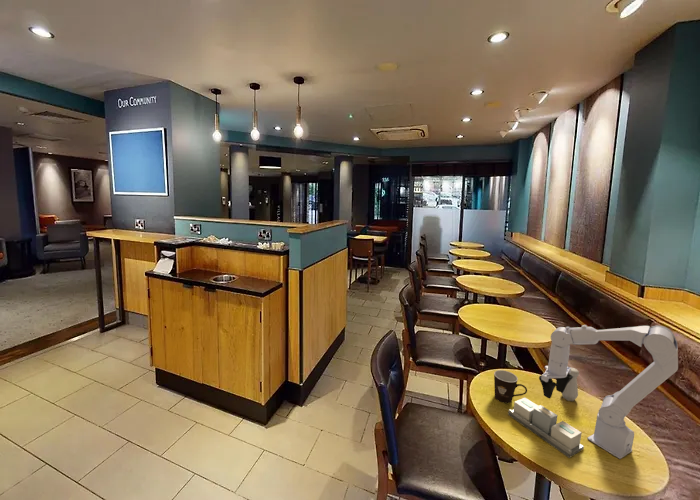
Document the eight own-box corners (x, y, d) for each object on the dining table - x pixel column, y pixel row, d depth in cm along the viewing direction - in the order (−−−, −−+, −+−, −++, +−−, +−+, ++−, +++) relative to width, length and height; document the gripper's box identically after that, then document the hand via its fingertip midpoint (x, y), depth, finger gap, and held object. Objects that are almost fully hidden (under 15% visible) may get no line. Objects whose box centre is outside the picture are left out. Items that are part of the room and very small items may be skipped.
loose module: (555, 430, 111) (557, 414, 109) (548, 434, 109) (550, 418, 108) (538, 419, 116) (540, 404, 115) (531, 422, 114) (533, 407, 113)
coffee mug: (487, 394, 132) (489, 372, 130) (502, 389, 135) (504, 368, 133) (510, 412, 121) (513, 388, 120) (526, 406, 125) (529, 383, 123)
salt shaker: (571, 394, 133) (576, 365, 131) (580, 403, 127) (585, 373, 125) (557, 393, 134) (561, 364, 131) (564, 401, 128) (569, 372, 126)
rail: (583, 449, 104) (584, 443, 104) (569, 457, 100) (570, 451, 100) (521, 408, 123) (522, 403, 123) (507, 414, 120) (508, 409, 119)
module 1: (538, 417, 117) (540, 406, 116) (528, 422, 114) (529, 411, 113) (523, 407, 122) (524, 397, 121) (513, 412, 119) (514, 401, 119)
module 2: (579, 444, 104) (581, 432, 104) (569, 450, 102) (571, 438, 101) (560, 432, 110) (562, 420, 109) (550, 437, 107) (552, 425, 106)
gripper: (559, 351, 121) (554, 383, 124) (535, 359, 115) (530, 393, 117) (579, 359, 115) (573, 393, 117) (554, 368, 108) (549, 404, 111)
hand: (553, 394), depth 117 cm, fingers open, 7 cm apart
